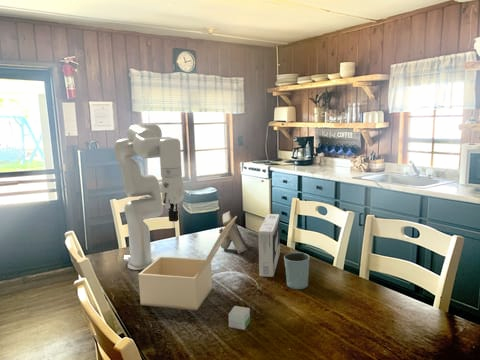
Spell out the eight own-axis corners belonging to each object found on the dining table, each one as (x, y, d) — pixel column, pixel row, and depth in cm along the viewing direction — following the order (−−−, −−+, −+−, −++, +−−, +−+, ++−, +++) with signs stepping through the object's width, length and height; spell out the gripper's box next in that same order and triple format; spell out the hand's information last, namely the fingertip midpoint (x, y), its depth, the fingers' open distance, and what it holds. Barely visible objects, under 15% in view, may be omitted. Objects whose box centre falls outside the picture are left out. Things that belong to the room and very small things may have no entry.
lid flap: (223, 229, 123) (224, 229, 123) (236, 215, 141) (237, 216, 141) (195, 277, 129) (196, 278, 129) (211, 259, 146) (212, 259, 146)
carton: (140, 305, 136) (138, 274, 134) (161, 284, 153) (160, 256, 151) (197, 310, 131) (195, 278, 129) (212, 288, 148) (211, 259, 146)
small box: (244, 330, 117) (244, 316, 117) (228, 327, 119) (227, 313, 119) (250, 321, 123) (250, 307, 122) (234, 318, 125) (234, 305, 124)
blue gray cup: (314, 283, 149) (314, 255, 147) (300, 292, 142) (300, 263, 140) (293, 277, 156) (293, 250, 154) (279, 285, 149) (278, 257, 147)
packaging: (273, 277, 157) (272, 231, 154) (259, 276, 158) (258, 231, 155) (280, 252, 186) (279, 214, 183) (268, 252, 188) (267, 213, 185)
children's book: (225, 250, 203) (208, 219, 200) (245, 240, 203) (229, 209, 200) (227, 263, 183) (209, 228, 180) (249, 251, 184) (232, 217, 180)
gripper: (172, 175, 126) (175, 227, 129) (188, 169, 141) (190, 216, 144) (152, 175, 128) (155, 226, 131) (170, 169, 142) (172, 215, 145)
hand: (173, 220), depth 137 cm, fingers closed
